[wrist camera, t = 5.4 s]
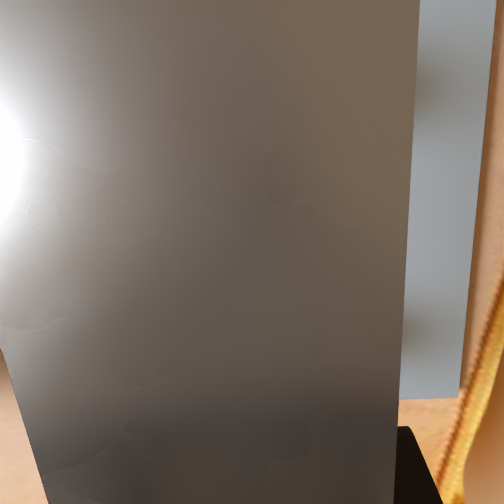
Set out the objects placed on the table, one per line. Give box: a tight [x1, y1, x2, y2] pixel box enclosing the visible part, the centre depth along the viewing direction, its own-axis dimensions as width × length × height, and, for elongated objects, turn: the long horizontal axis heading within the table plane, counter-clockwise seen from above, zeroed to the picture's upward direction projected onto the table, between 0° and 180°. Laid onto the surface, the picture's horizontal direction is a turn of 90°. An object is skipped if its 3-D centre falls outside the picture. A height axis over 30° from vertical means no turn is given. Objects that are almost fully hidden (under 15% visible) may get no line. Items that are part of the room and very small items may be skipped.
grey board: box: [399, 0, 497, 400], centre depth 26 cm, size 24×7×1 cm, turn 4°
